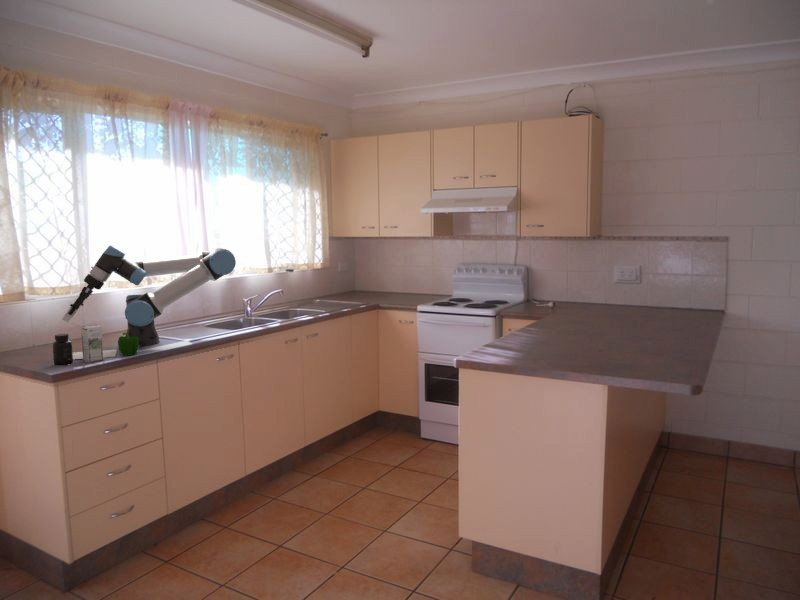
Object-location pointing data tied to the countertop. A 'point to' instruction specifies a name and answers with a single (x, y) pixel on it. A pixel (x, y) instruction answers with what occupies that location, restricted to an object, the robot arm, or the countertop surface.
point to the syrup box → (92, 343)
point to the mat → (105, 354)
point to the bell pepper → (128, 344)
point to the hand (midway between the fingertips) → (66, 318)
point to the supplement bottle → (62, 350)
